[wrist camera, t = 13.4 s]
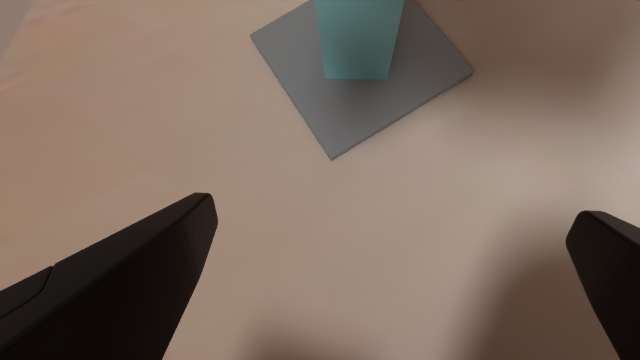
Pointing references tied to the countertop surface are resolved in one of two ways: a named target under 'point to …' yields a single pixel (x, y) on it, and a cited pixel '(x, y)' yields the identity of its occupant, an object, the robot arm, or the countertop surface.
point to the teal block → (357, 37)
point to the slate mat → (359, 94)
